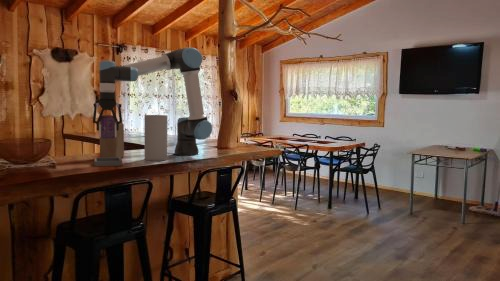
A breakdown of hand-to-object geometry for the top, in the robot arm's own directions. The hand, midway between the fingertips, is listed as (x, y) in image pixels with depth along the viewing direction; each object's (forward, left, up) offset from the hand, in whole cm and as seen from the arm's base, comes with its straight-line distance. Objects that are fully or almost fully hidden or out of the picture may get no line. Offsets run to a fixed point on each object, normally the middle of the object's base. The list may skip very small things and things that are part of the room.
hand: (107, 136), depth 206 cm
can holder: (0, 0, -14) cm, 14 cm away
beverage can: (0, 0, -1) cm, 1 cm away
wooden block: (-3, -21, -14) cm, 26 cm away
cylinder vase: (-26, -11, -14) cm, 32 cm away
